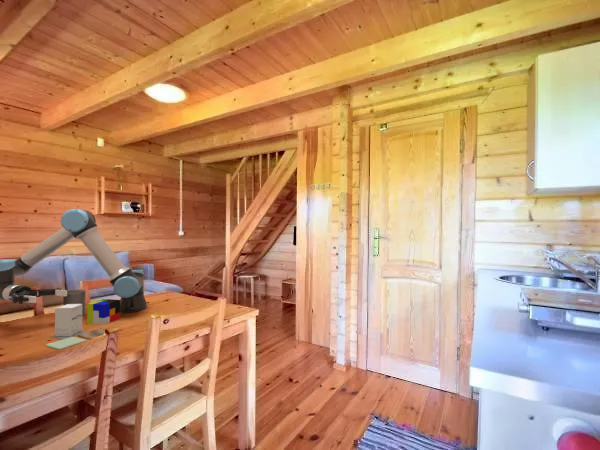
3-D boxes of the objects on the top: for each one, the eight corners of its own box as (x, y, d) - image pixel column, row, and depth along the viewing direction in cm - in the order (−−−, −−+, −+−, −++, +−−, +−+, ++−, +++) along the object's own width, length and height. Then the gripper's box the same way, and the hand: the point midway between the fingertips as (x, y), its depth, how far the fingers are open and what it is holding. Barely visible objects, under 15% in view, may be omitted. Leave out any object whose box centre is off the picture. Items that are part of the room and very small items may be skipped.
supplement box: (71, 336, 133) (71, 307, 133) (54, 336, 133) (54, 307, 133) (82, 330, 140) (83, 303, 140) (66, 330, 140) (67, 303, 140)
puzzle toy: (104, 324, 150) (104, 304, 150) (87, 323, 152) (87, 303, 152) (120, 318, 160) (120, 299, 160) (104, 317, 162) (104, 298, 162)
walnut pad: (100, 329, 143) (100, 328, 143) (114, 332, 139) (114, 331, 139) (77, 336, 134) (77, 335, 134) (91, 339, 130) (91, 338, 130)
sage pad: (72, 337, 132) (72, 336, 132) (86, 341, 128) (86, 340, 128) (45, 346, 123) (45, 344, 123) (59, 350, 119) (59, 348, 119)
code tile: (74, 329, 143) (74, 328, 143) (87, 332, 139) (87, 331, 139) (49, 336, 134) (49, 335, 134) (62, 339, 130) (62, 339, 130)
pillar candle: (58, 318, 161) (59, 290, 161) (78, 313, 170) (78, 286, 170) (70, 320, 157) (70, 291, 157) (89, 315, 166) (89, 288, 166)
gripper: (45, 295, 156) (77, 298, 151) (-16, 307, 132) (20, 311, 127) (45, 281, 157) (77, 283, 151) (-15, 290, 132) (20, 293, 127)
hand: (51, 296), depth 139 cm, fingers open, 13 cm apart
